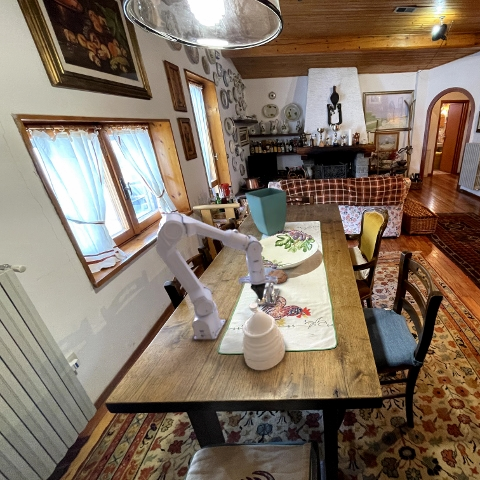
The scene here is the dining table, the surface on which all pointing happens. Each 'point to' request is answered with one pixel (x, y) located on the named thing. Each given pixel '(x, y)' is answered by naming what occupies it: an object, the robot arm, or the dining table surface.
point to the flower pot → (268, 209)
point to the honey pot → (262, 340)
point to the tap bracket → (270, 296)
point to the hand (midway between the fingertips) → (261, 298)
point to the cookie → (278, 275)
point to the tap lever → (264, 293)
